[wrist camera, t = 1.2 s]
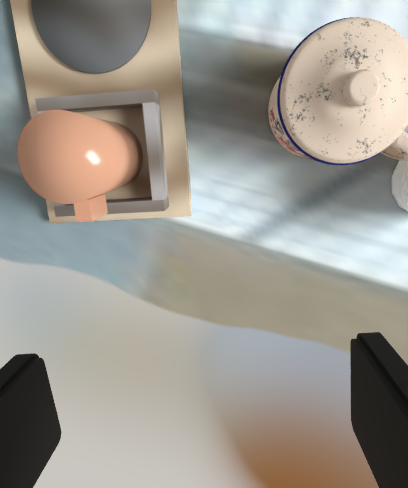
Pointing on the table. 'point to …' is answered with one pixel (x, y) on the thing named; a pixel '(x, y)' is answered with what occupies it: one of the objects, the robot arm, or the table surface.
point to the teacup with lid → (344, 94)
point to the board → (113, 89)
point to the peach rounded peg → (78, 159)
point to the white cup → (401, 184)
